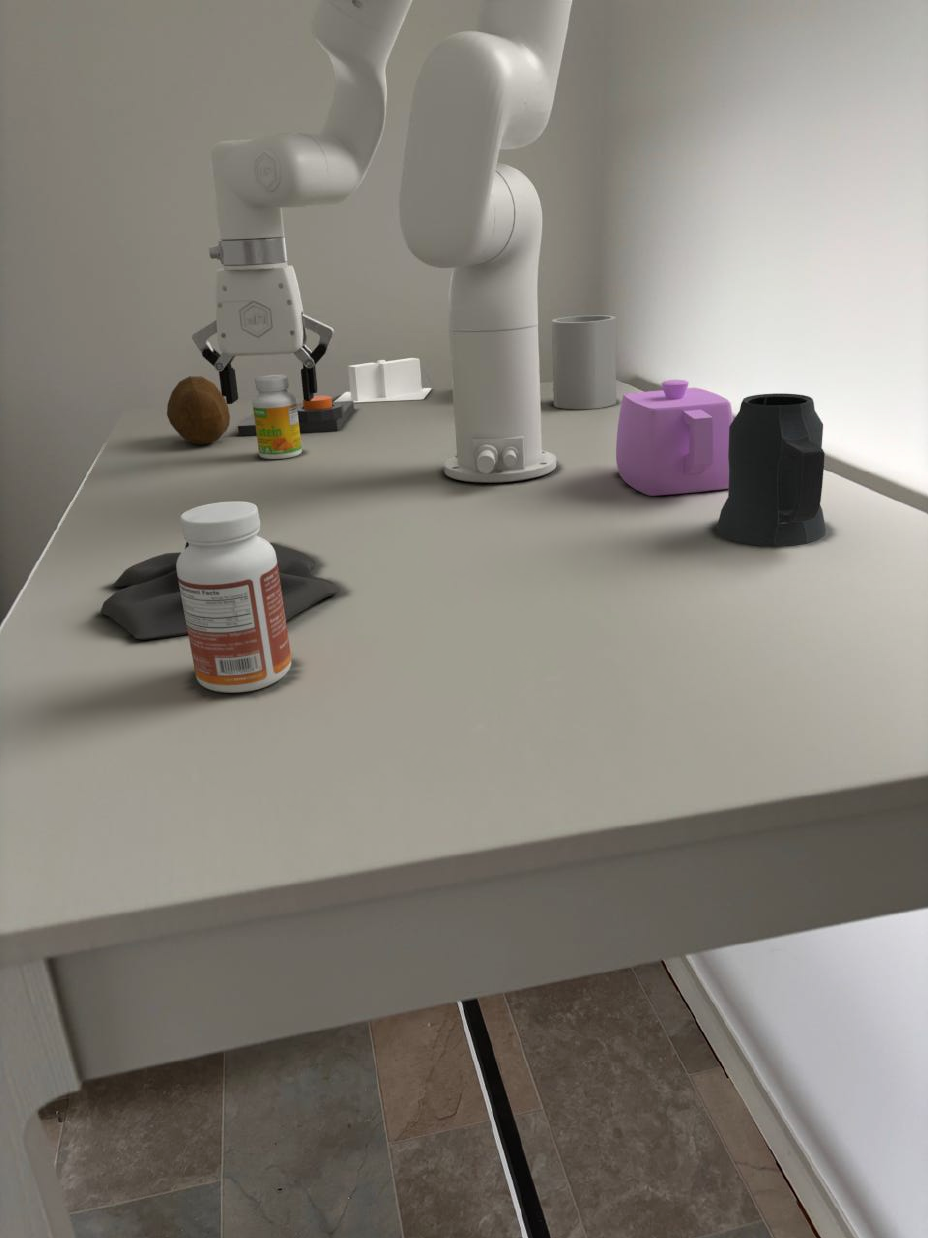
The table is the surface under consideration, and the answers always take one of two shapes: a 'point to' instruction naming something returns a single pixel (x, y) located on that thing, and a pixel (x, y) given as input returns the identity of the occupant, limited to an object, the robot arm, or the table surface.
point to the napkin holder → (385, 381)
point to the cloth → (159, 603)
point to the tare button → (318, 403)
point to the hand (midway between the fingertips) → (270, 400)
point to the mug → (774, 472)
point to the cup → (584, 361)
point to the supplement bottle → (276, 418)
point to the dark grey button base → (310, 419)
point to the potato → (198, 410)
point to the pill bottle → (232, 599)
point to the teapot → (674, 440)
